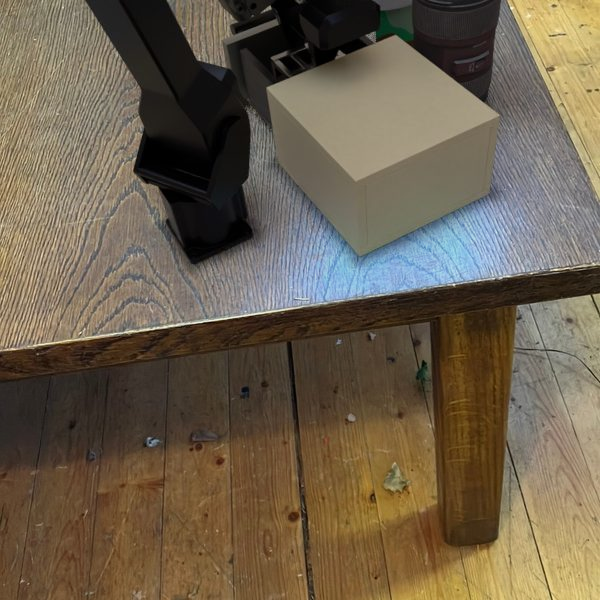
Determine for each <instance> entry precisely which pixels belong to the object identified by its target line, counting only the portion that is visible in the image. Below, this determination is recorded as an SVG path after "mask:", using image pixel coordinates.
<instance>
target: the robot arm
mask: <svg viewBox="0 0 600 600" xmlns="http://www.w3.org/2000/svg"><path fill="white" fill-rule="evenodd" d="M84 1H85V2H86V5H87V6H88V7H89V9H90V11H91V12H92V14H93V16H94V17H95V18H96V20H97V22H98V23H99V25H100V27H101V28H102V30H103V31H104V33H105V34H106V37H108V39H109V41H110V42H111V44H112V46H113V47H114V49H115V50H116V52H117V53H118V55H119V56H120V57H119V58H121V60H122V61H123V63H124V65H125V66H126V67H127V68H126V69H128V71H129V73H130V74H131V75H132V77H133V79H134V81H135V82H136V84H137V85H138V87H139V89H140V94H139V102H138V107H137V115H138V117H139V120H140V122H141V123H142V126H143V130H142V134H141V138H140V142H139V146H138V149H137V153H136V157H135V160H134V165H133V168H132V169H133V170H132V172H133V174H134V175H135V176H136V177H137V178H138V179H139V180H140V181H141V183H143V184H145V185H151V186H154V187H157V188H158V192H159V195H160V198H161V201H162V204H163V207H164V209H165V212H166V215H167V218H166V220H165V225H166V227H167V228H168V230H169V231H170V233H171V235H172V237H173V238H174V240H175V241H176V242H177V244H178V245H179V248H180V249H181V250H182V252H183V254H184V255H185V257H186V259H187V260H188V262H189V263H191V264H197V263H199V262H201V261H203V260H206V259H207V258H209V257H212V256H214V255H216V254H218V253H220V252H223V251H225V250H227V249H229V248H232V247H234V246H236V245H237V244H240V243H243V242H244V241H247V240H248V239H251V238H252V237H253V236H254V230H253V229H252V227H251V225H250V224H249V223H248V222H247V219H249V216H250V213H249V209H248V204H247V200H246V195H245V191H244V186H243V185H244V184H245V183H246V182H247V181H248V179H249V178H250V177H249V176H250V162H251V161H250V159H251V140H252V139H251V137H252V130H251V121H250V117H249V114H248V111H247V108H246V107H247V106H248V105H250V104H249V99H246V98H244V96H243V95H242V93H241V91H240V88H239V85H238V81H237V78H236V76H235V75H234V73H233V72H232V70H231V69H229V68H227V67H225V66H221V65H217V64H213V63H210V62H206V61H202V60H199V59H197V57H196V55H195V53H194V51H193V49H192V47H191V45H190V43H189V41H188V39H187V37H186V35H185V32H184V31H183V29H182V27H181V26H180V23H179V21H178V18H176V15H175V14H174V11H173V9H172V7H171V5H170V3H169V2H168V0H84ZM217 2H218V3H219V5H220V6H221V8H223V10H225V11H226V12H227V13H228V14H229V15H230V16H231V17H232V18H233V20H234V21H236V22H243V21H245V20H247V19H249V18H250V17H252V16H257V15H259V14H260V13H262V12H265V11H266V9H268V8H269V7H270V8H271V9H272V10H273V12H274V15H275V17H276V19H277V21H278V24H279V26H280V28H281V31H282V33H283V35H284V38H285V40H286V42H287V45H288V47H289V49H293V48H296V47H298V46H301V45H303V44H304V42H305V40H307V44H308V48H309V52H310V56H311V60H312V65H313V68H316V67H318V66H321V65H323V64H325V63H328V62H330V61H333V60H335V58H336V56H337V53H338V51H339V49H340V47H341V45H343V44H345V43H348V42H350V41H353V40H355V39H358V38H360V37H363V36H368V35H369V34H372V33H376V31H377V30H379V28H380V25H381V17H380V5H379V4H377V3H376V2H375V1H374V0H217Z"/></svg>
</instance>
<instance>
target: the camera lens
mask: <svg viewBox="0 0 600 600" xmlns="http://www.w3.org/2000/svg"><path fill="white" fill-rule="evenodd" d="M501 4H502V0H412V25H413V30H414V33H413V49H415V50H416V51H417V52H419V53H420V54H421V55H422V56H424V57H425V58H426V59H428V60H429V61H430V62H432V63H433V64H434V65H435V66H437V67H438V68H439V69H441V70H442V71H443V72H444V73H446V74H447V75H448V76H450V77H451V78H452V79H454V80H455V81H456V82H457V83H459V84H460V85H461V86H463V87H464V88H465V89H467V90H468V91H469V92H470V93H472V94H473V95H474V96H476V97H477V98H478V99H479V100H481V101H482V102H483V103H485V104H486V101H487V100H488V96H489V91H490V88H491V84H492V77H493V70H494V69H493V68H494V54H495V53H494V52H495V43H496V42H495V41H496V32H497V27H498V24H499V19H500V12H501Z"/></svg>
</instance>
